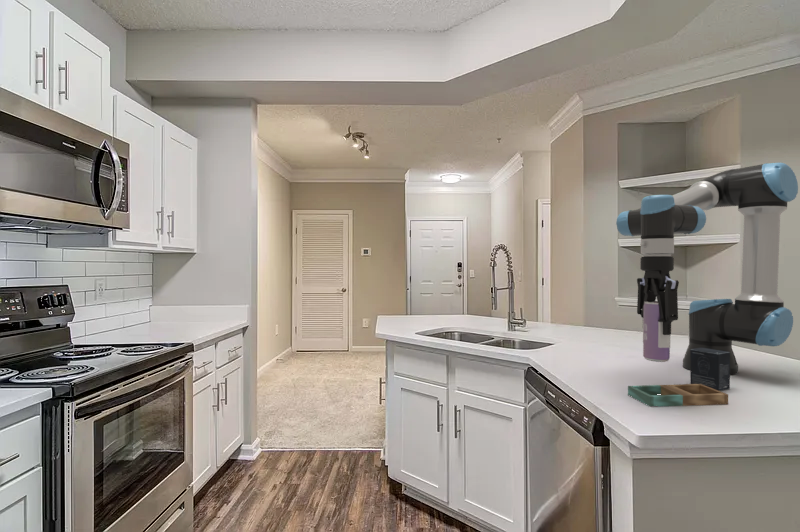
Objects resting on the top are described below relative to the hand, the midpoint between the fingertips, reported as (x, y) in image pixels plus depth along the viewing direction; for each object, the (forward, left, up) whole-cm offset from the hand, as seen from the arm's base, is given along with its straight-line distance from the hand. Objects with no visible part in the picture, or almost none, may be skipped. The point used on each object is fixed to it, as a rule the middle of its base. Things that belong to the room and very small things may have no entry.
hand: (656, 344), depth 119 cm
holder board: (-6, 0, -14) cm, 15 cm away
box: (-23, -10, -15) cm, 29 cm away
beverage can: (0, 0, -4) cm, 4 cm away
